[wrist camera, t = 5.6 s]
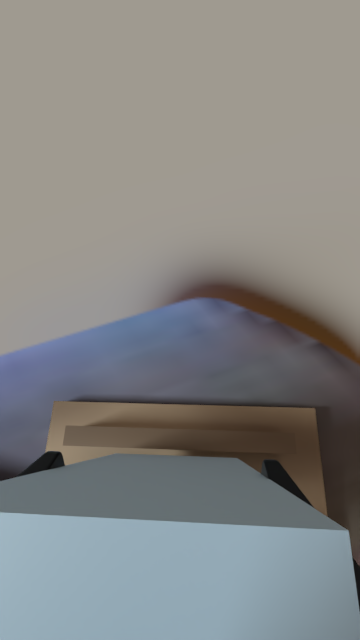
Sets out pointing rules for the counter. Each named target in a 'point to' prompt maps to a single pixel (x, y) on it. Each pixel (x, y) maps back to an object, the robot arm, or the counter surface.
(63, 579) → the light blue brick
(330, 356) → the counter surface
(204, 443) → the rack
